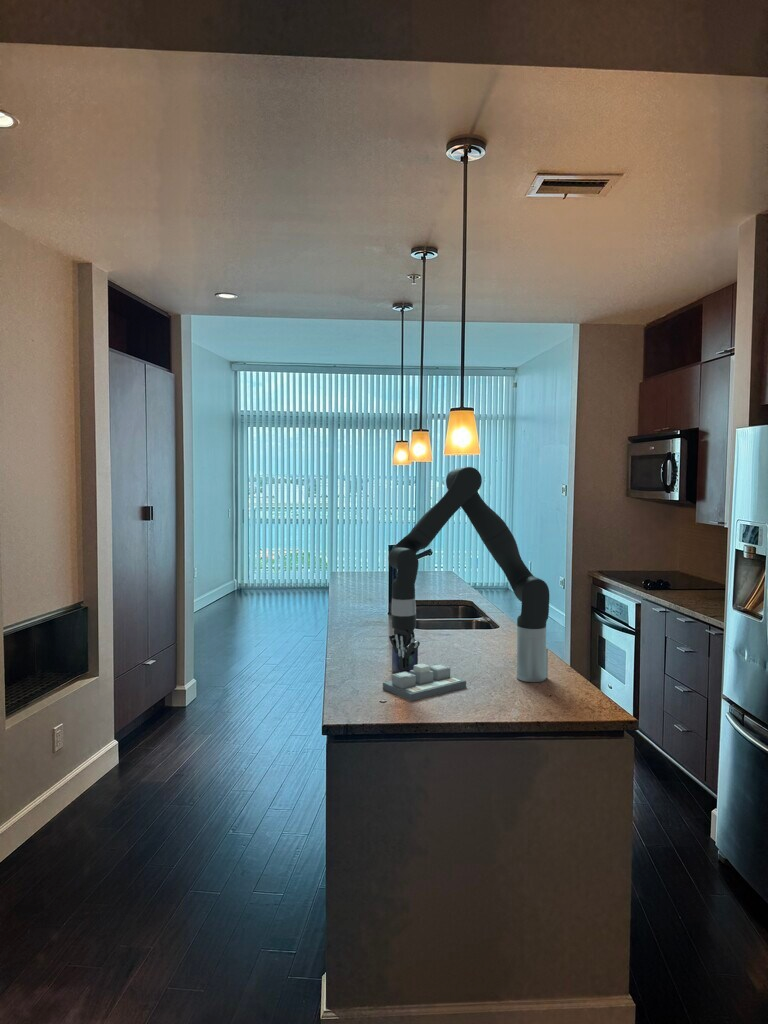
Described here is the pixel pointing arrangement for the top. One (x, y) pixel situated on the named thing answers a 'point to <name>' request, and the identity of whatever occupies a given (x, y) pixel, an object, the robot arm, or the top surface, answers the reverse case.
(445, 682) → the board
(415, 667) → the button middle
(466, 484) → the robot arm
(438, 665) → the button
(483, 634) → the top surface
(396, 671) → the flask
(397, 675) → the button
